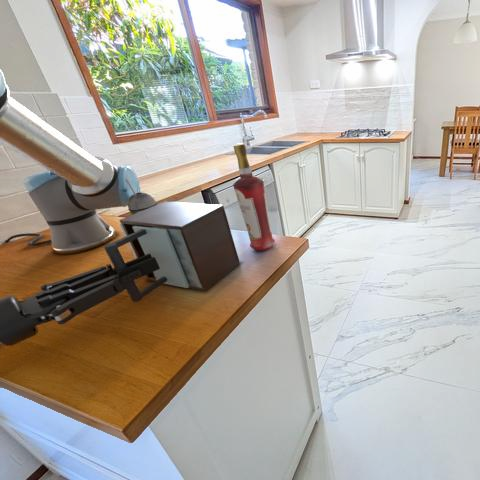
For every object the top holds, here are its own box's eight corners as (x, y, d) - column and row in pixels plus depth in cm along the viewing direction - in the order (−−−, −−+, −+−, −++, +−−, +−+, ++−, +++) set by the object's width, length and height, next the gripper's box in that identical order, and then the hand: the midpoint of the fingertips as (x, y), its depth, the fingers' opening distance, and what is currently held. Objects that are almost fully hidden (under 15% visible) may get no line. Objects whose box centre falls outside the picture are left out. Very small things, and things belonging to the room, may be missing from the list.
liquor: (244, 249, 81) (216, 146, 68) (265, 238, 86) (243, 141, 73) (260, 256, 77) (234, 148, 64) (281, 244, 82) (261, 142, 69)
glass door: (124, 304, 61) (92, 244, 55) (159, 280, 68) (134, 225, 62) (156, 311, 58) (126, 249, 52) (189, 286, 65) (166, 229, 59)
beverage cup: (175, 238, 91) (151, 175, 81) (151, 248, 85) (122, 182, 76) (163, 234, 94) (138, 173, 85) (139, 243, 89) (110, 180, 80)
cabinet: (147, 280, 70) (119, 220, 63) (186, 255, 80) (166, 200, 73) (205, 291, 65) (181, 226, 57) (240, 263, 75) (223, 205, 67)
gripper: (3, 326, 51) (148, 265, 67) (11, 368, 43) (175, 287, 58) (-25, 292, 48) (135, 236, 64) (-23, 331, 39) (161, 255, 55)
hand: (154, 261), depth 61 cm, fingers closed on glass door, 2 cm apart
